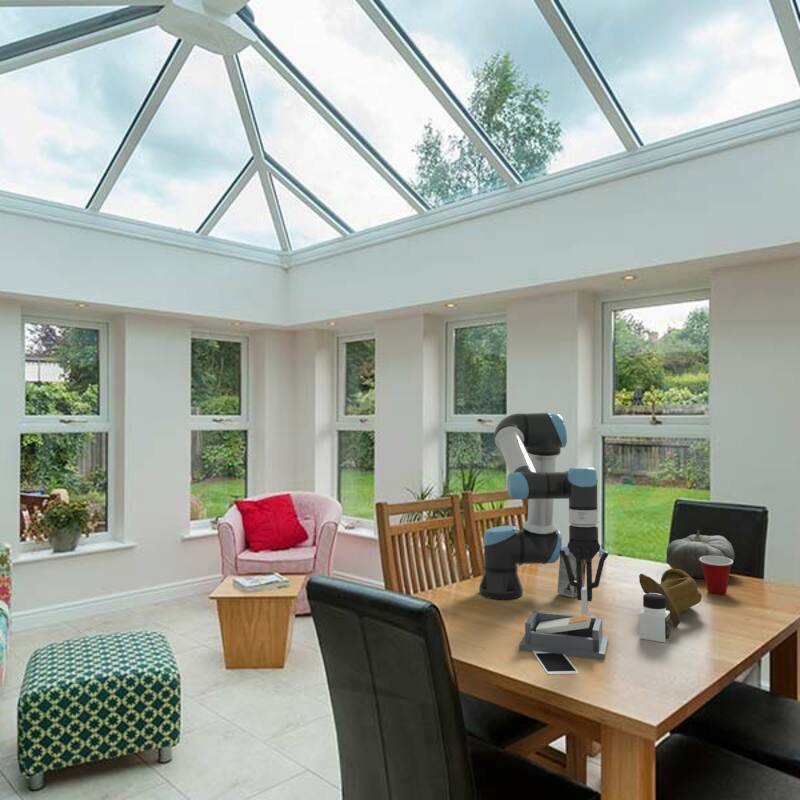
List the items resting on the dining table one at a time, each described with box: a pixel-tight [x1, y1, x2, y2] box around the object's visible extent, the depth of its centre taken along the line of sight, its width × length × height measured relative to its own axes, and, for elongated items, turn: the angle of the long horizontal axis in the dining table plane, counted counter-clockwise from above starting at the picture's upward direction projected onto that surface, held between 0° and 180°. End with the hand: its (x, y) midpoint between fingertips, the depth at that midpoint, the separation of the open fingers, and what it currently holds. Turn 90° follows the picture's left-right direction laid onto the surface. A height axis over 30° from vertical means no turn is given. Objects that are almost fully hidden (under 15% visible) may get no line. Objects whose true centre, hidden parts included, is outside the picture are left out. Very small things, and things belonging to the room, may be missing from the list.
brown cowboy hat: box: [638, 568, 703, 627], centre depth 209 cm, size 23×16×28 cm
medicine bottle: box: [638, 593, 672, 644], centre depth 188 cm, size 7×7×12 cm
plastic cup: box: [699, 556, 734, 596], centre depth 234 cm, size 11×11×12 cm
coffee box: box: [556, 545, 586, 598], centre depth 234 cm, size 9×6×16 cm
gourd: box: [666, 530, 735, 579], centre depth 262 cm, size 25×25×17 cm
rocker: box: [536, 614, 591, 633], centre depth 182 cm, size 14×7×2 cm, turn 69°
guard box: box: [518, 610, 609, 661], centre depth 182 cm, size 22×14×7 cm, turn 69°
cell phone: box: [532, 651, 580, 676], centre depth 170 cm, size 8×16×1 cm, turn 2°
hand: (584, 612), depth 180 cm, fingers closed
